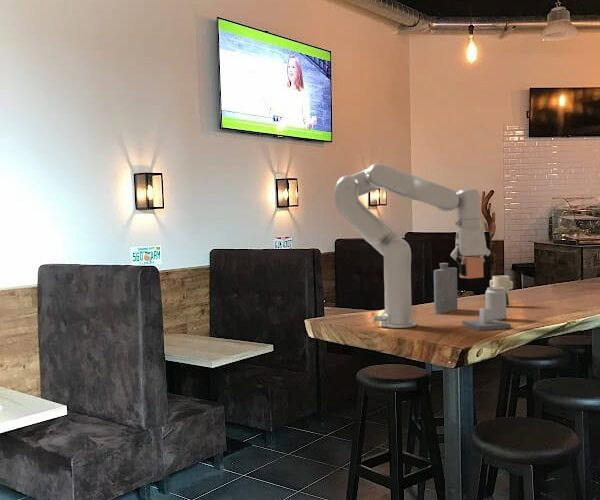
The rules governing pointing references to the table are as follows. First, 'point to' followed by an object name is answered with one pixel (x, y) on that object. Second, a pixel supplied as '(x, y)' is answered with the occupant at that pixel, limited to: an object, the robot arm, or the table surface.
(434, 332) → the table surface
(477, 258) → the salmon pink cube
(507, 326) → the post base
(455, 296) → the hip flask
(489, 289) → the can
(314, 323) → the table surface
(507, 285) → the character mug
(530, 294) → the table surface
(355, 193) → the robot arm
